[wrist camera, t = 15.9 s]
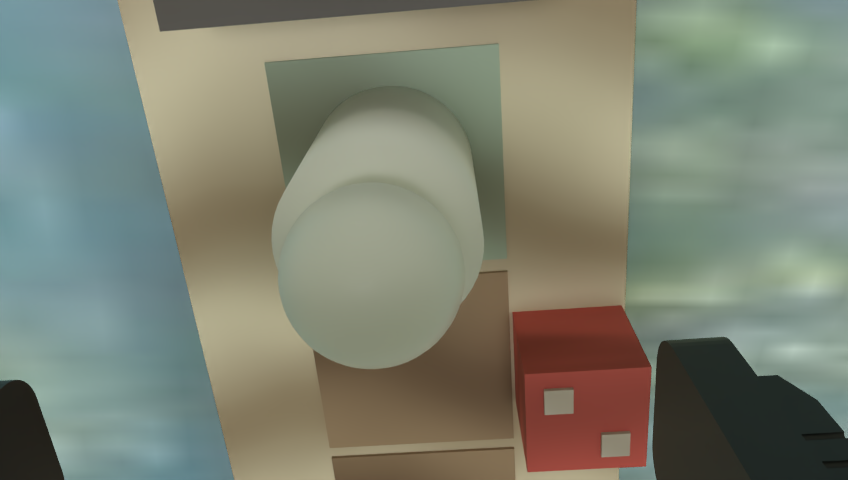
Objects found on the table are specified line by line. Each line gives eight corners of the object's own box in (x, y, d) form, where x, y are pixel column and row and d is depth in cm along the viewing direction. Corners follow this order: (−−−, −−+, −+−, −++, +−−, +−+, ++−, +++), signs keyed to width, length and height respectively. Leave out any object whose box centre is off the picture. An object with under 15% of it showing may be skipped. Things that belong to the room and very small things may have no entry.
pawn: (475, 232, 19) (499, 422, 11) (325, 241, 19) (255, 434, 12) (468, 80, 17) (490, 189, 10) (303, 91, 17) (208, 208, 10)
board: (604, 563, 25) (637, 689, 21) (276, 578, 26) (245, 703, 22) (633, -449, 14) (716, -608, 10) (55, -383, 15) (-96, -505, 11)
